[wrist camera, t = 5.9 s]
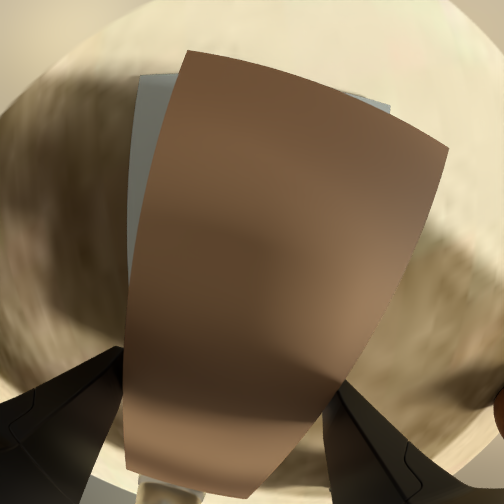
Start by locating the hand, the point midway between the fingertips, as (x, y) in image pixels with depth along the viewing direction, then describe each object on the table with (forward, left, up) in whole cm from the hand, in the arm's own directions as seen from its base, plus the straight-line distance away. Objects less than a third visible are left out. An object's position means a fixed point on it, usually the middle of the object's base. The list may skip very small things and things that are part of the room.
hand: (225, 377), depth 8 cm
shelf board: (0, 0, -2) cm, 2 cm away
